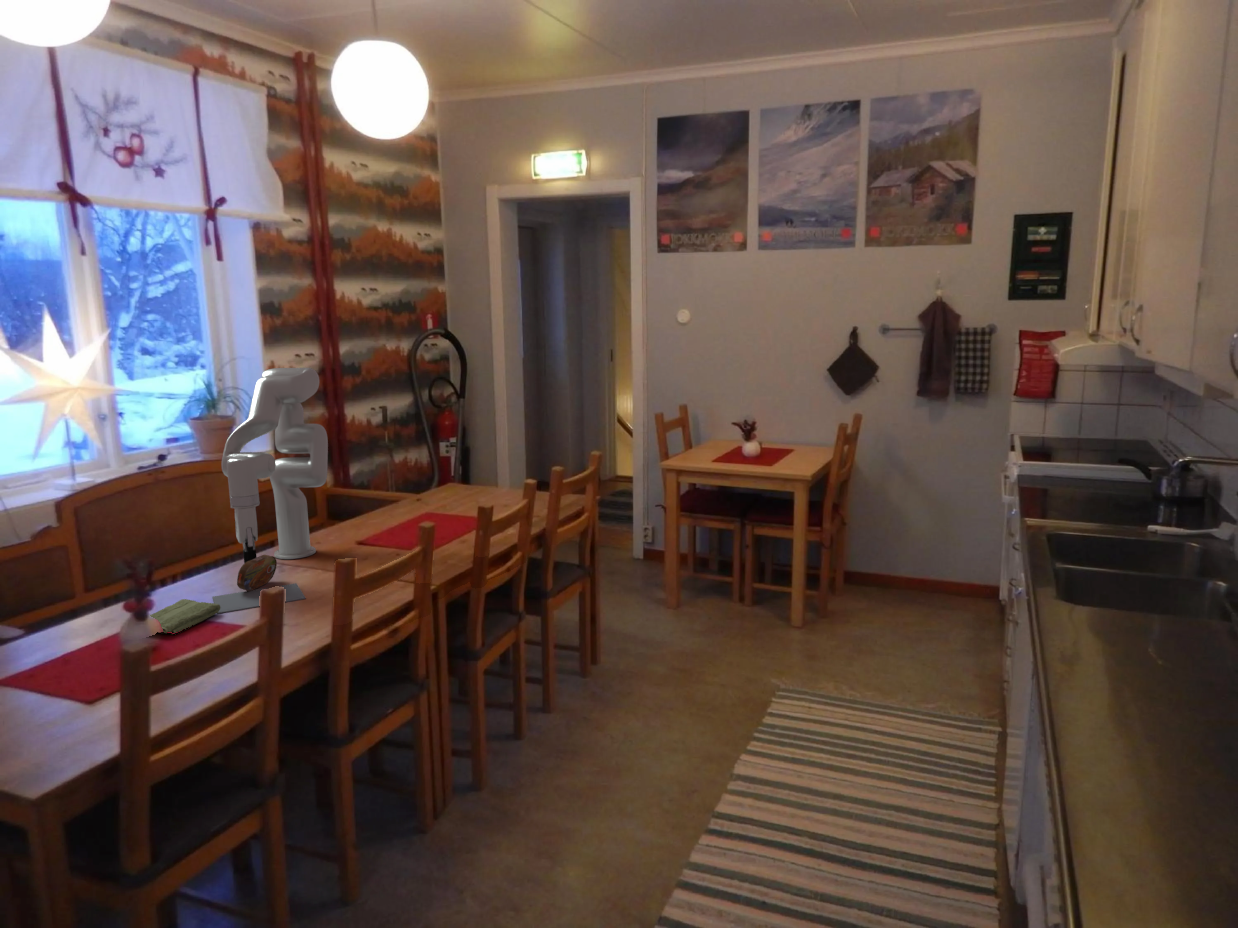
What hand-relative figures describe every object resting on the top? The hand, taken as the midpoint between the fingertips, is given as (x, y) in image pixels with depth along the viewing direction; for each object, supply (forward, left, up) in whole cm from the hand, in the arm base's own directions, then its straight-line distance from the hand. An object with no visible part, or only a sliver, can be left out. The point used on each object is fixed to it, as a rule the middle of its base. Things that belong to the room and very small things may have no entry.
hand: (250, 563), depth 241 cm
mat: (+12, 0, -7) cm, 14 cm away
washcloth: (+22, -20, -7) cm, 30 cm away
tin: (+2, 0, -6) cm, 7 cm away
